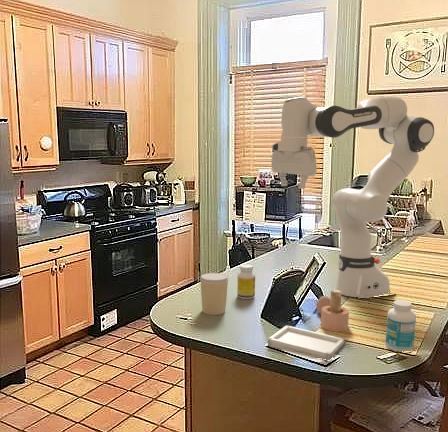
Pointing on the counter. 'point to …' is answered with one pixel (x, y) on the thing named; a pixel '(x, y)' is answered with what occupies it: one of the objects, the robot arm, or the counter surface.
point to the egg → (322, 303)
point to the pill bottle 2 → (400, 327)
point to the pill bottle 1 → (246, 282)
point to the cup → (334, 319)
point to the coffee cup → (214, 293)
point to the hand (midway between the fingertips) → (292, 187)
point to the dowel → (335, 301)
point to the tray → (306, 342)
